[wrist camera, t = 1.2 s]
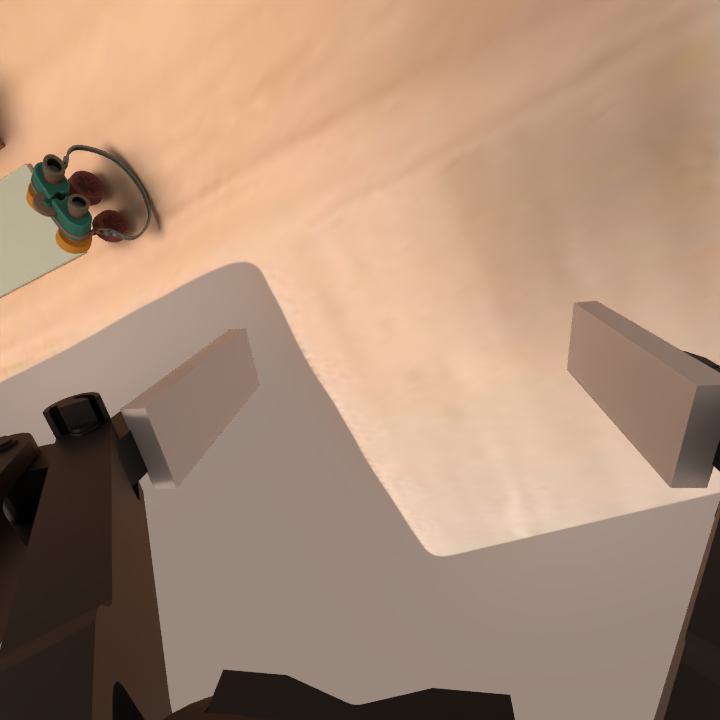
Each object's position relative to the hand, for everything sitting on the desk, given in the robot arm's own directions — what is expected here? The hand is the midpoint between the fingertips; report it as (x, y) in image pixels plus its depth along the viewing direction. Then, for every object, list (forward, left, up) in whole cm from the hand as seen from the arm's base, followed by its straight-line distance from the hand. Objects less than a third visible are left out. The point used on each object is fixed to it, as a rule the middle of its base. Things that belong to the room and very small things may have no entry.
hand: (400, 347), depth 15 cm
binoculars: (-17, -28, -26) cm, 42 cm away
